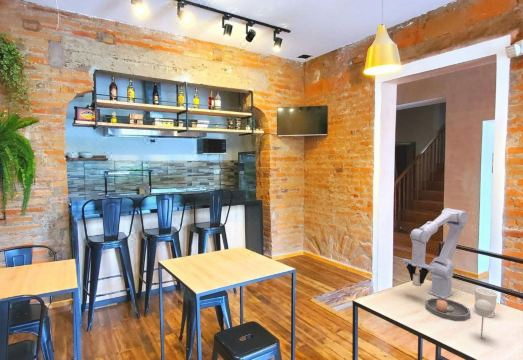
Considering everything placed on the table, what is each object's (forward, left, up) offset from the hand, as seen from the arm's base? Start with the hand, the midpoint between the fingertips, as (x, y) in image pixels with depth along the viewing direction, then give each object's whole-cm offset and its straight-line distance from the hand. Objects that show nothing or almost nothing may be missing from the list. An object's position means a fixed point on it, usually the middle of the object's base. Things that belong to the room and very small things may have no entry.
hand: (417, 281), depth 153 cm
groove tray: (-1, +14, -9) cm, 17 cm away
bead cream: (0, 0, -2) cm, 2 cm away
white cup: (-13, +24, -9) cm, 29 cm away
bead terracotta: (+4, +14, -8) cm, 17 cm away
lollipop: (+10, +32, -9) cm, 35 cm away
